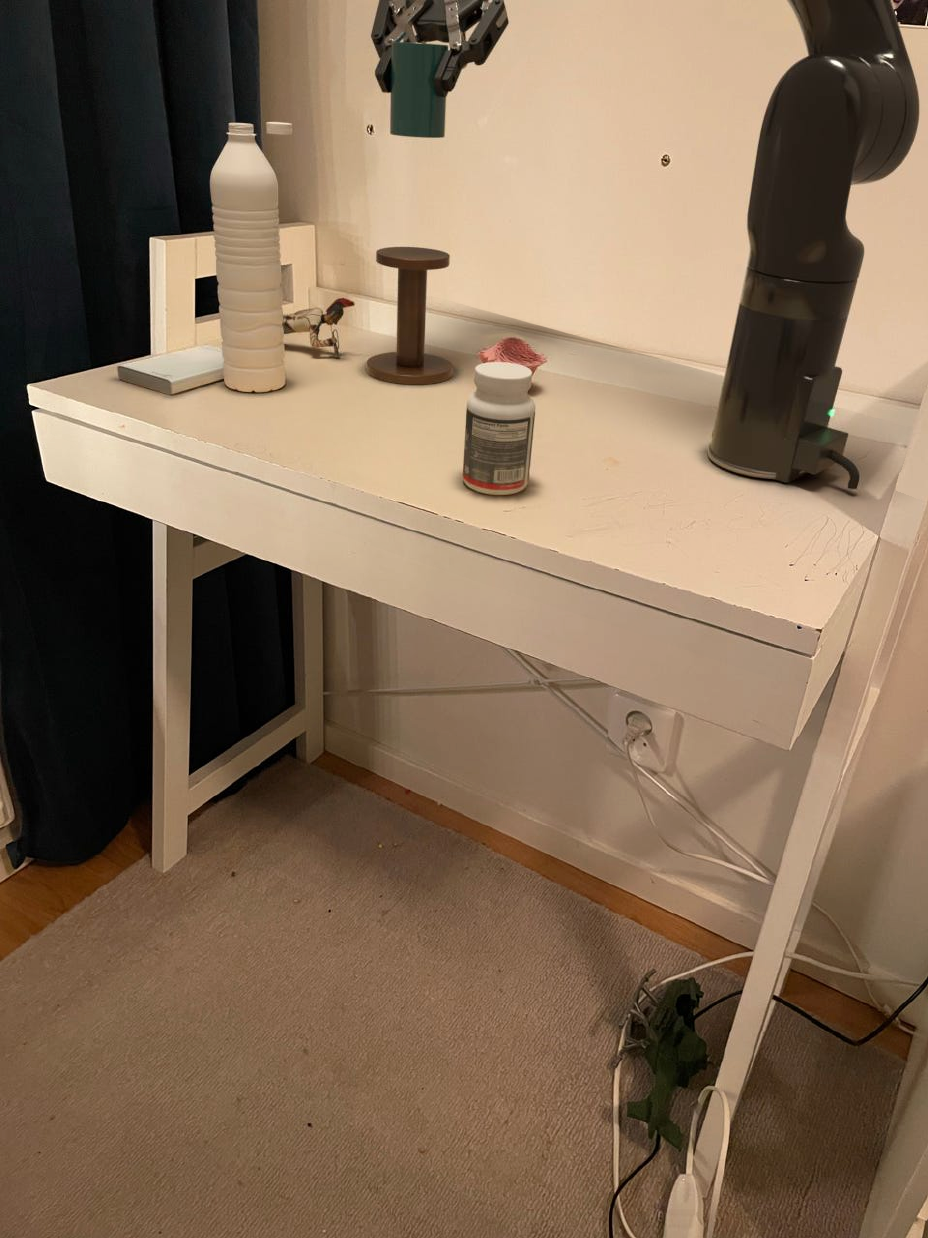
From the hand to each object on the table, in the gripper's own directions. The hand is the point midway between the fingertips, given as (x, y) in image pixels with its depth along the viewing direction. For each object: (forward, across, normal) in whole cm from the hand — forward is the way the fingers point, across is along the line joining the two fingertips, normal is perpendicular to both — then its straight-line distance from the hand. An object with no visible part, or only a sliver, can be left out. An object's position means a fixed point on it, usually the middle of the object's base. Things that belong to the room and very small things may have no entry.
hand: (411, 87), depth 91 cm
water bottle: (+28, -12, +12) cm, 33 cm away
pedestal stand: (+19, 0, +22) cm, 29 cm away
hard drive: (+30, -20, +11) cm, 37 cm away
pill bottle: (+37, +21, +4) cm, 43 cm away
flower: (+18, +12, +22) cm, 31 cm away
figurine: (+19, -16, +22) cm, 33 cm away
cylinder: (+2, 0, +4) cm, 5 cm away
